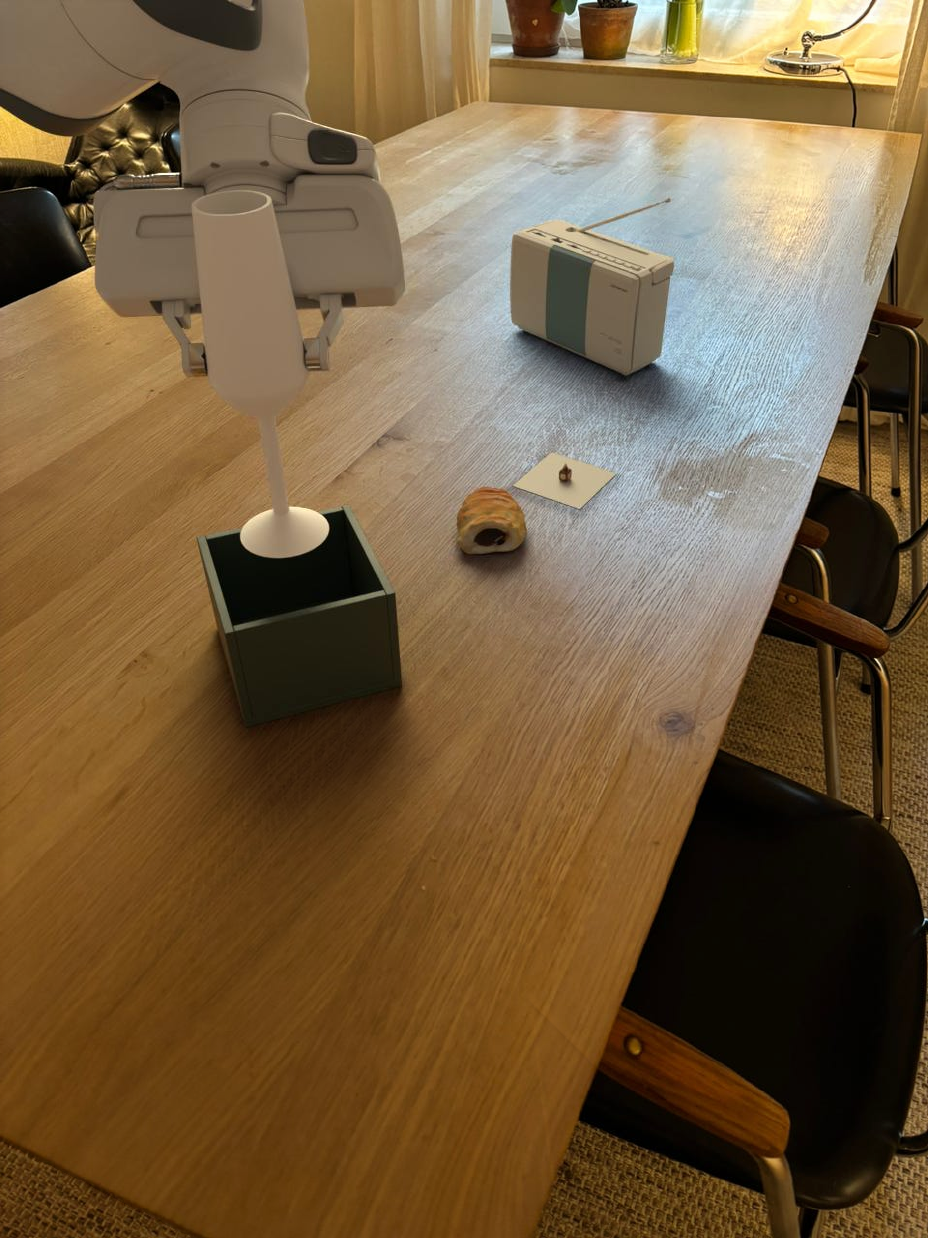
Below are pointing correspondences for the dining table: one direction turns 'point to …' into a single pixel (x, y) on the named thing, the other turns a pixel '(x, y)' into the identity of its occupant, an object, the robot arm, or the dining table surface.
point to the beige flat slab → (565, 480)
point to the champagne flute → (254, 346)
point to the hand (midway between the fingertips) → (257, 371)
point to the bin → (303, 621)
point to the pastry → (490, 522)
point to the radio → (590, 292)
